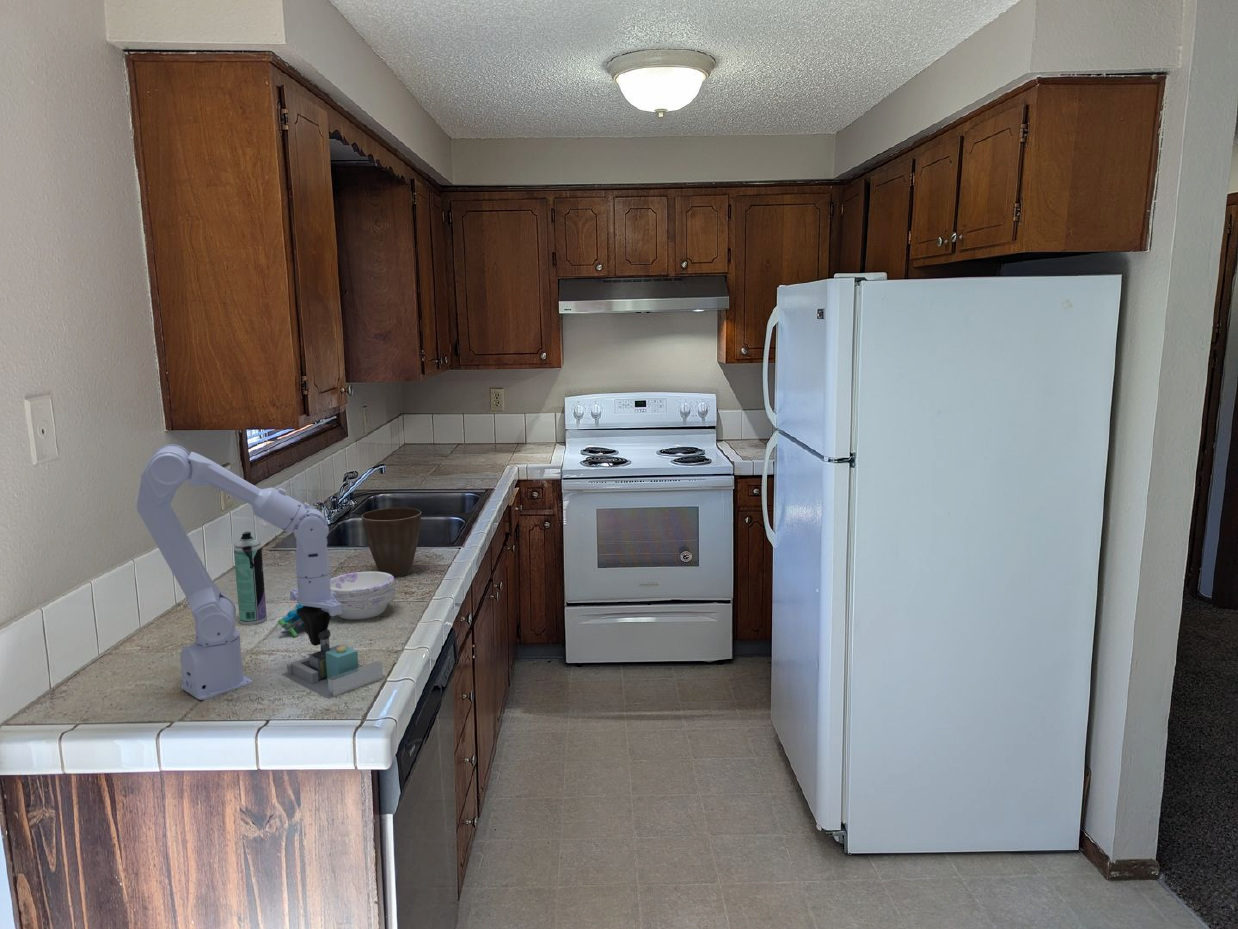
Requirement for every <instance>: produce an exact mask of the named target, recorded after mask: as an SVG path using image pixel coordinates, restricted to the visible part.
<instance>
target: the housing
mask: <svg viewBox="0 0 1238 929" xmlns="http://www.w3.org/2000/svg"><path fill="white" fill-rule="evenodd" d="M337 646H338V645H337ZM358 664H359V655H358V650H356V649H354V648H351V647H349V646H347V645H339V646H338V647H337V648H336V649H333V650H330V651H327V652H326V668H327V681H328V678H330V677H333V676H336V675H339V674H341V673H344V672H347V671H350V670H353V669H356V668H358Z"/></svg>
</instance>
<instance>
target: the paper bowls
mask: <svg viewBox="0 0 1238 929" xmlns="http://www.w3.org/2000/svg"><path fill="white" fill-rule="evenodd" d="M330 585H331V591H334V592H336V596H335V597H334V598H335V599H336V600H337V602H339V603H341V606H342V614H339V615H337V616H338V617H340V618H342V619H344V620H354V621H356V620H357V621H358V620H366V619H372V618H375V617H377V616H380V615H381V614H383V613H384V612H385V610H386V609H387V606H388V604H390V603H392V602H393V601H395V599H396V582H395V577H393V576H392V575H391V574H388V573H384V572H379V571H371V570H370V571H358V572H349V573H344V574H341V575H336V576H334V577H330Z"/></svg>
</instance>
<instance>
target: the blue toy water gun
mask: <svg viewBox="0 0 1238 929" xmlns="http://www.w3.org/2000/svg"><path fill="white" fill-rule="evenodd" d="M302 607H303V605H300V604H298V605H297V606H295V608H296V609H294V610H290V611H289V612H288V613H287V614H286V615H287V616H285V617H284V618H280V619H279V620H278V621H277V622H278V624H279V625H280V627H281V628H283V629H285V630H286V631H289V632H290V633H291V635H293V637H294V638H297V637H298V636H299V634H298V633H297V632H296V631H295V629H294V627H295V626H297V625H300V624H302V623H303V621H302V619H301V618H300V616H299V615H298V614H297V609H299V608H302Z"/></svg>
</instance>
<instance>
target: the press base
mask: <svg viewBox="0 0 1238 929" xmlns="http://www.w3.org/2000/svg"><path fill="white" fill-rule="evenodd" d="M286 670H287V671H286V672H284V673H282V674H281V676H283V677H285V678H287V679H289V680H291V681H293V682H295V683H296V684H299V685H300V686H303V687H304V688H306V689H308V690H310V691H312V692H314V693H316V694H318V695H320V696H321V697H324V698H326V699H327V700H329V699H332V698H336V697H338V696H341V695H342V694H346V693H349V692H351V691H354V690H356V689H359V688H361V687H364V686H367V685H370V684H372V683H375V682H377V681H380V680H383V679H386V678H388V676H386V675H384V674H383V662H380V661H379V660H376V661H372V662H370V663H367V664H364V665H363V664H360V663H358V668H356V669H353V670H350V671H347V672H344V673H341V674H339V675H336V676H333V677H330V678H328V681H327V677H325V678H323V679H320V680H319V677H318V672H317V671H315V670H313V669H311V668H310V661H309V657H307V658H302V659H300V660H296V661H294V662H290V663H288V664H286Z"/></svg>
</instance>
